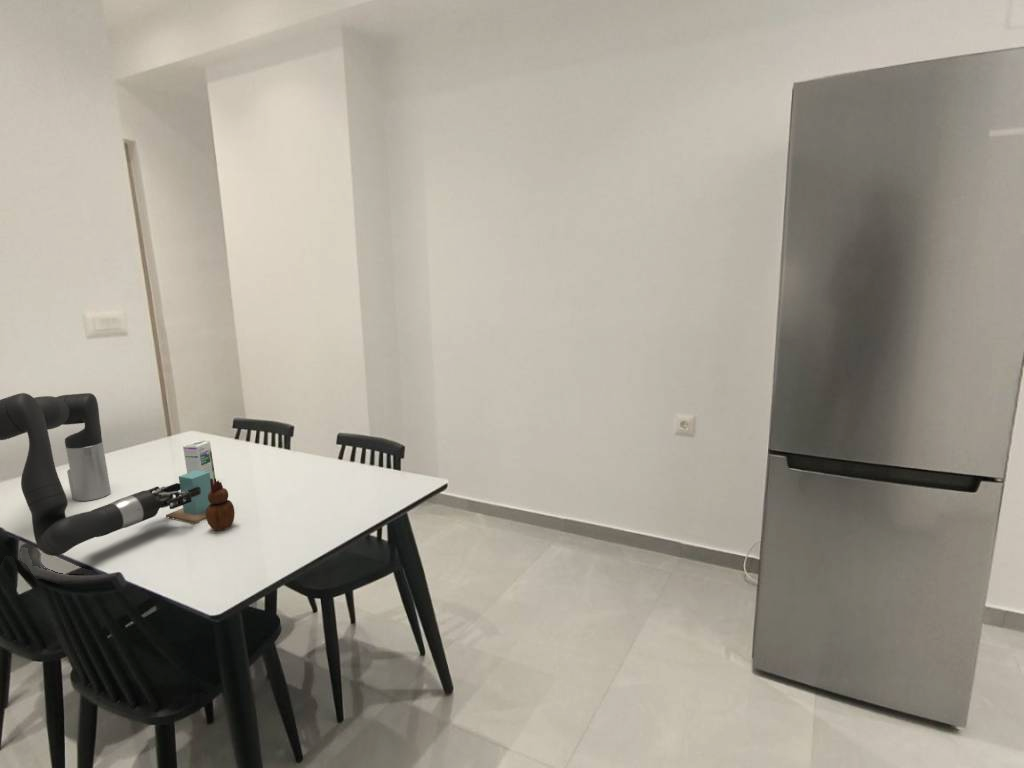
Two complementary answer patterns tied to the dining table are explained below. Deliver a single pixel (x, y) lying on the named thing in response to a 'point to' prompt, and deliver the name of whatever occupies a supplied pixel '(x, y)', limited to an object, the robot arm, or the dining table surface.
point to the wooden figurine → (219, 507)
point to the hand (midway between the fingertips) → (189, 488)
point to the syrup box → (199, 457)
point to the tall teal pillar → (192, 481)
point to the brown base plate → (187, 516)
